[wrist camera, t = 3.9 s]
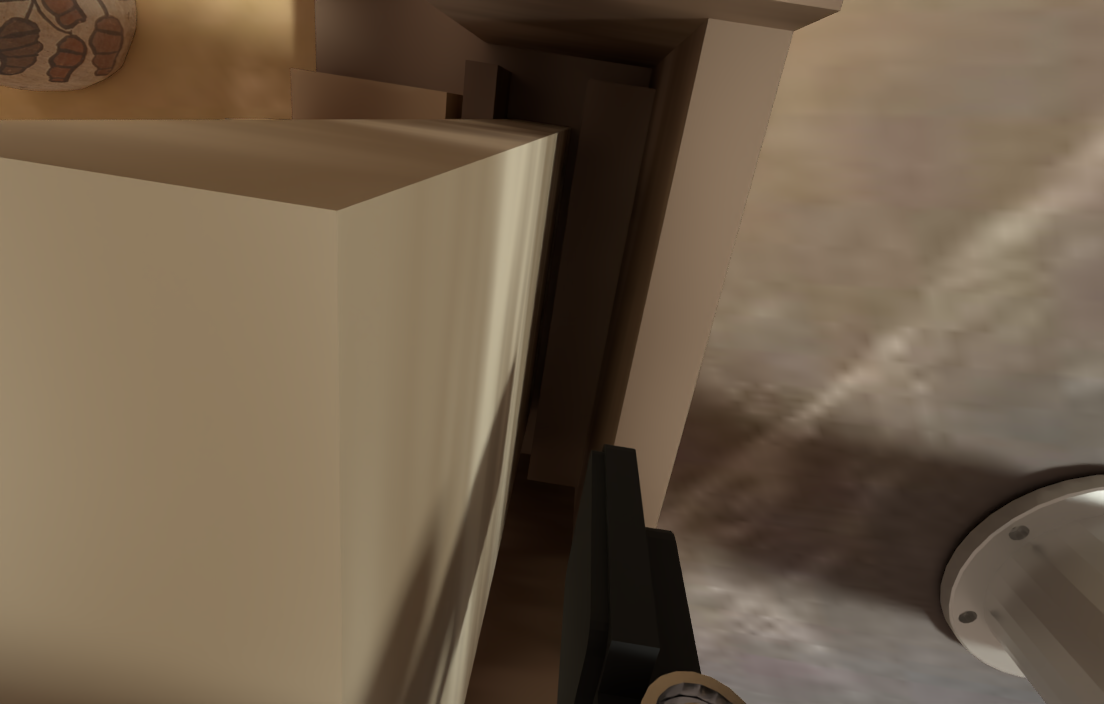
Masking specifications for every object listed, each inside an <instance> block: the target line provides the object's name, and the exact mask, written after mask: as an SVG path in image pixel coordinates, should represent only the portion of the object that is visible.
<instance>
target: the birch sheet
mask: <svg viewBox="0 0 1104 704" xmlns="http://www.w3.org/2000/svg"><path fill="white" fill-rule="evenodd" d="M570 134H571V128H570V127H564V126H557V125H551V124H545V123H538V122H532V121H526V120H519V119H295V120H0V704H464V703H465V698H466V694H467V689H468V685H469V680H470V676H471V672H472V667H473V663H474V658H475V654H476V649H477V645H478V640H479V636H480V631H481V627H482V622H483V618H484V614H485V609H486V605H487V600H488V596H489V591H490V587H491V582H492V578H493V573H494V569H495V565H496V560H497V556H498V551H499V547H500V542H501V538H502V533H503V529H504V524H505V520H506V515H507V511H508V507H509V502H510V498H511V493H512V489H513V484H514V480H515V475H516V471H517V466H518V462H519V458H520V453H521V449H522V444H523V440H524V435H525V431H526V426H527V422H528V417H529V413H530V407H531V400H532V393H533V387H534V380H535V373H536V366H537V359H538V352H539V346H540V339H541V332H542V325H543V318H544V311H545V305H546V298H547V291H548V284H549V277H550V270H551V264H552V257H553V250H554V243H555V236H556V229H557V223H558V216H559V209H560V202H561V195H562V188H563V181H564V175H565V168H566V161H567V154H568V147H569V140H570Z"/></svg>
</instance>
